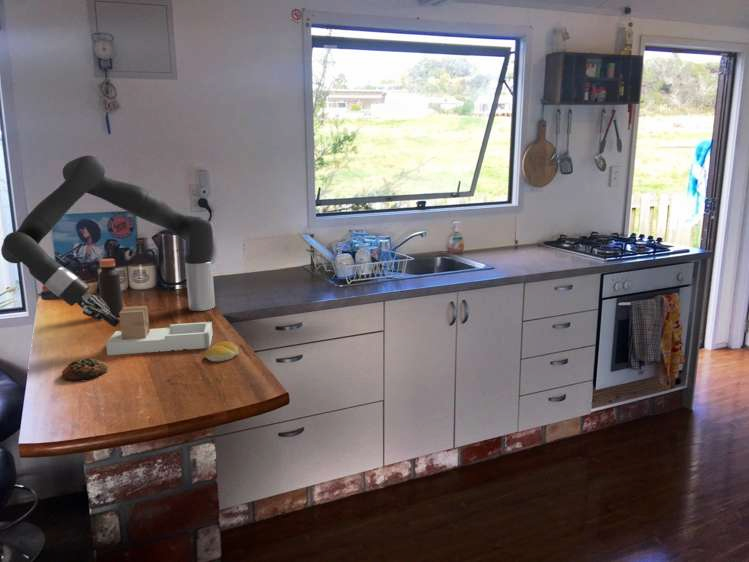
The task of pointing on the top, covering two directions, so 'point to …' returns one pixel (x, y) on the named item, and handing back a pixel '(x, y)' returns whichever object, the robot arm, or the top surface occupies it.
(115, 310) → the bottle
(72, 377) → the bread roll
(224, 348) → the bread roll
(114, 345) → the ledge
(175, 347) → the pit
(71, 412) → the top surface
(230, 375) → the top surface
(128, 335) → the block
